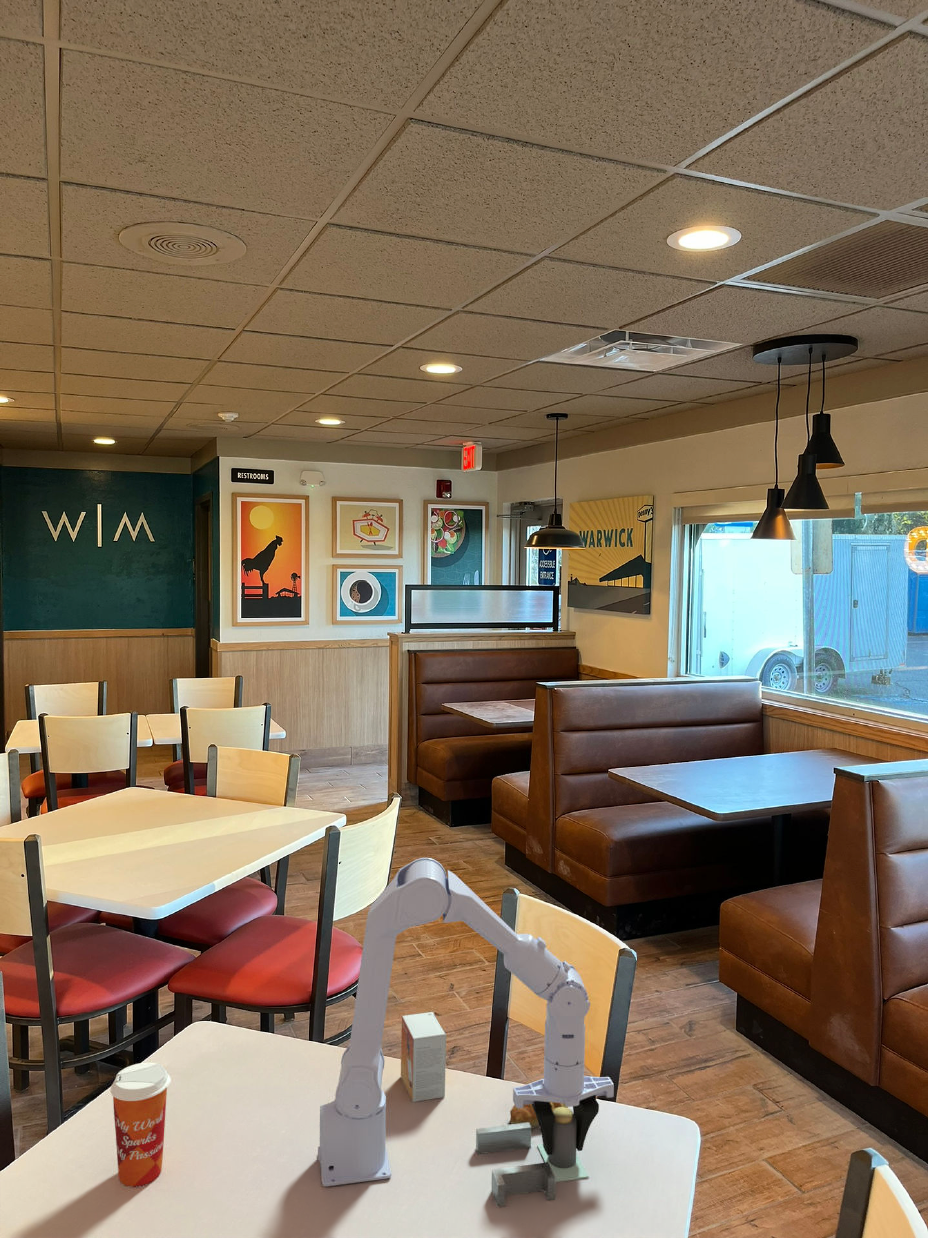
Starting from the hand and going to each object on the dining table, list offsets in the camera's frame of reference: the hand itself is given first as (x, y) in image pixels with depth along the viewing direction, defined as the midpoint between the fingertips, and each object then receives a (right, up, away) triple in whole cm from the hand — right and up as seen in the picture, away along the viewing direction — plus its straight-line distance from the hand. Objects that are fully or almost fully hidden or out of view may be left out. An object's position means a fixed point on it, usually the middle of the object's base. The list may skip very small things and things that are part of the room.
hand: (562, 1148), depth 127 cm
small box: (-21, -1, +18) cm, 28 cm away
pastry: (-2, -2, +11) cm, 12 cm away
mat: (0, -2, 0) cm, 2 cm away
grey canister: (0, -2, 0) cm, 2 cm away
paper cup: (-59, -1, -4) cm, 59 cm away
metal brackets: (-7, -2, -2) cm, 8 cm away
